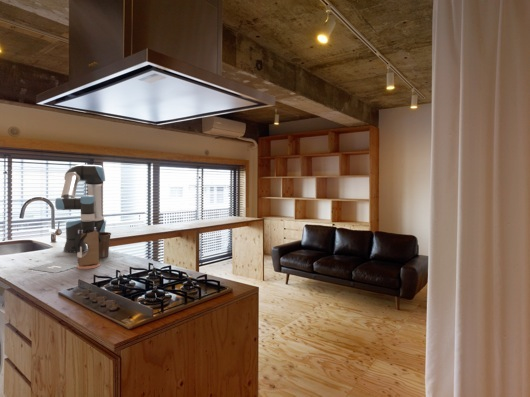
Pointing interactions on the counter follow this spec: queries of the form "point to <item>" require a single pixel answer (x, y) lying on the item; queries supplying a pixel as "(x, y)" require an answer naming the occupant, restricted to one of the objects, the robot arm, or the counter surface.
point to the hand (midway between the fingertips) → (88, 255)
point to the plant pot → (104, 244)
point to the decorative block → (90, 249)
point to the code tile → (54, 267)
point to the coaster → (88, 266)
